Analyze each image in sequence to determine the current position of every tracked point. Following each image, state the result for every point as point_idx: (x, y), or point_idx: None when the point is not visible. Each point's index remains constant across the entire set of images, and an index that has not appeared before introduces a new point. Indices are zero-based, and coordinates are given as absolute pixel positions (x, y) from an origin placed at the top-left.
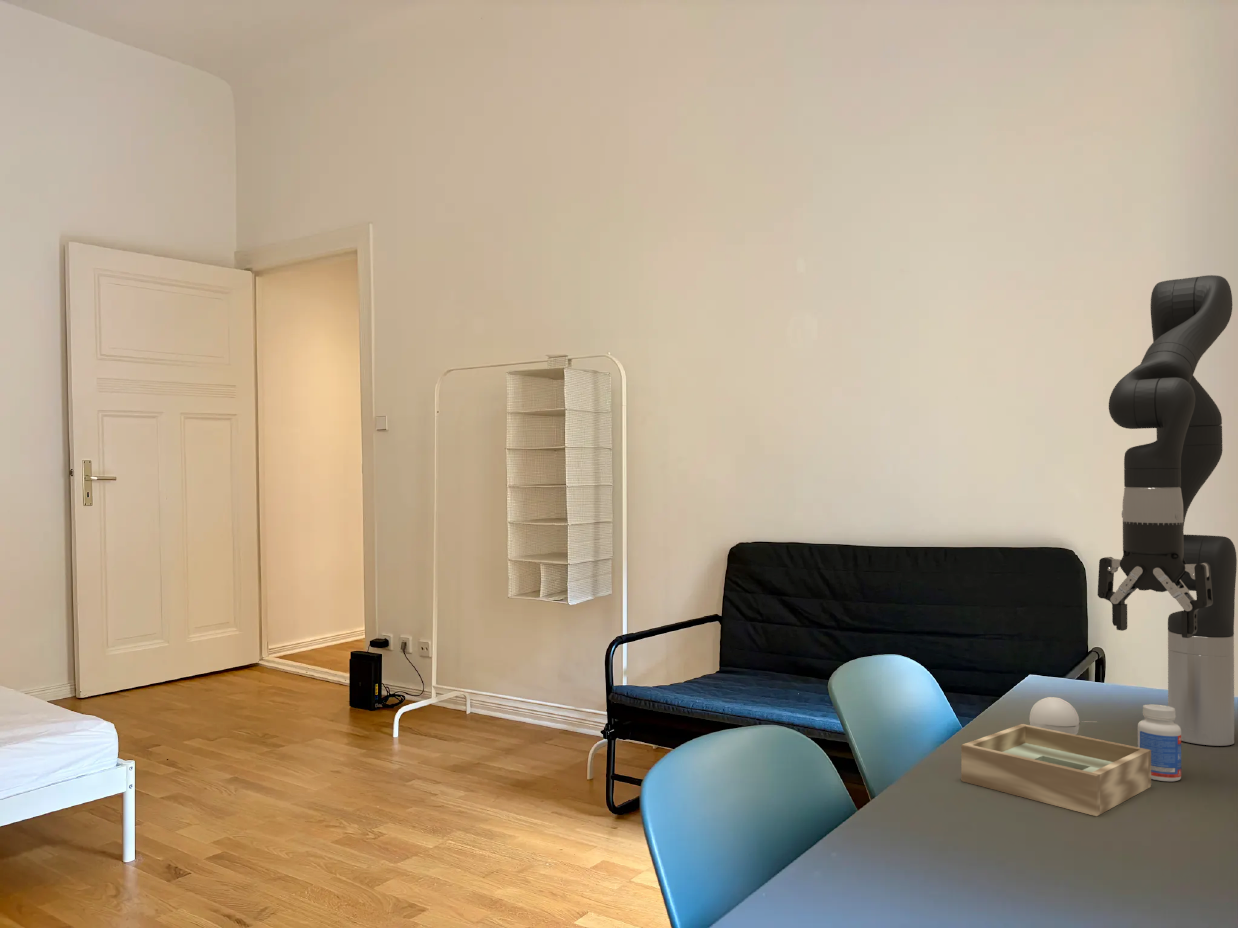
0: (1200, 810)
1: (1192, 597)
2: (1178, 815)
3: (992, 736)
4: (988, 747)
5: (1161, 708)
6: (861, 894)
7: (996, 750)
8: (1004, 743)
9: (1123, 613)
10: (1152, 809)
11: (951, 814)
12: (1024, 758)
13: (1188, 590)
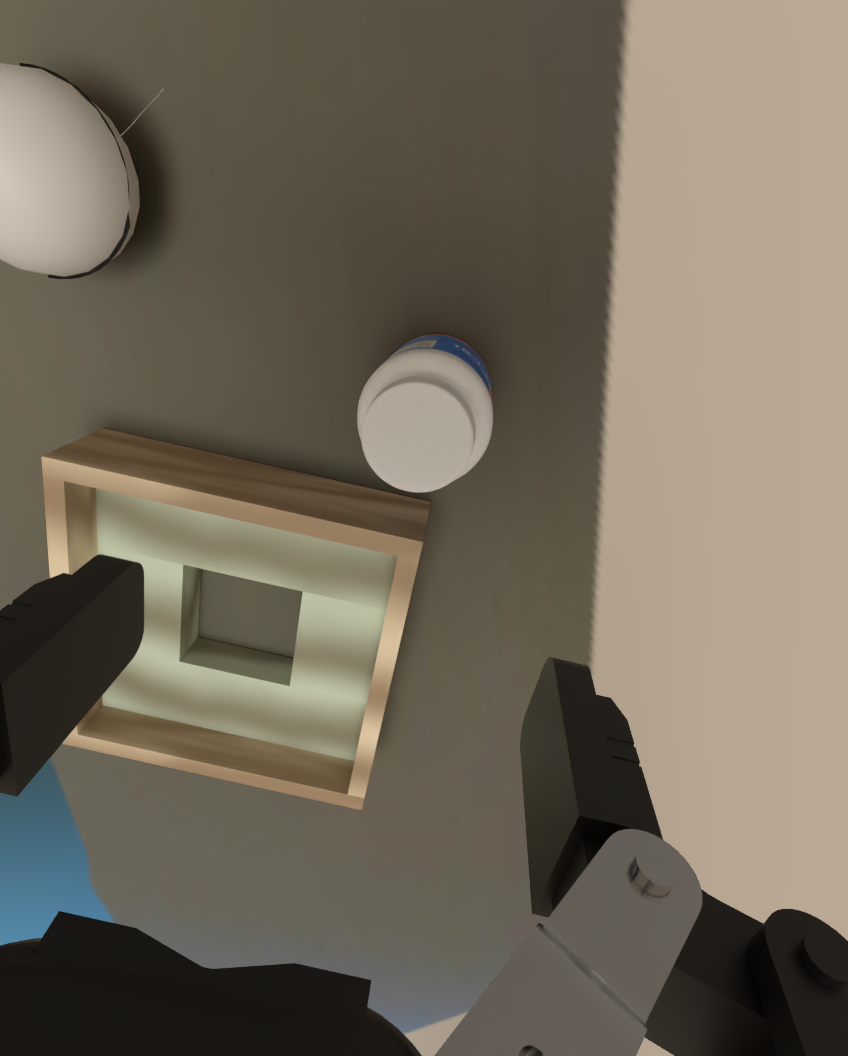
0: (541, 614)
1: (664, 979)
2: (503, 668)
3: None
4: None
5: (427, 455)
6: None
7: None
8: None
9: (68, 698)
10: (455, 659)
11: (190, 840)
12: (207, 770)
13: (641, 1032)
